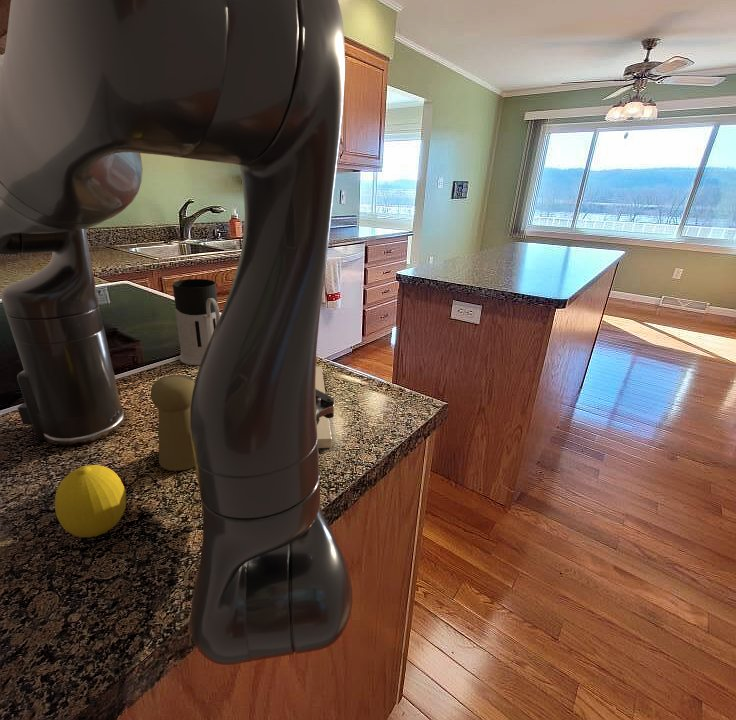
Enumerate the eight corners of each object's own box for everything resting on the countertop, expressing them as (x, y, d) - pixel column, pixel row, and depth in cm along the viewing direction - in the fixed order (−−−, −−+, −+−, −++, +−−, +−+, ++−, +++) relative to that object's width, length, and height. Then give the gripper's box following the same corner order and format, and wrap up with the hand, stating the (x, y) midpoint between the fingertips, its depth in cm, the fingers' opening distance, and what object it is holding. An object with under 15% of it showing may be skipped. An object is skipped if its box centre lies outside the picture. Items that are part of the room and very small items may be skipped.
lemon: (102, 561, 37) (82, 493, 33) (51, 549, 37) (28, 481, 34) (145, 517, 42) (131, 454, 38) (99, 507, 42) (82, 445, 39)
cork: (154, 473, 48) (138, 393, 43) (163, 444, 53) (150, 370, 49) (207, 467, 49) (197, 389, 45) (211, 439, 55) (202, 367, 50)
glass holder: (215, 345, 86) (207, 276, 80) (245, 367, 77) (240, 291, 71) (173, 354, 81) (161, 281, 75) (200, 379, 71) (190, 297, 65)
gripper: (345, 417, 42) (332, 354, 57) (213, 422, 39) (237, 355, 55) (343, 474, 45) (331, 399, 60) (220, 482, 42) (241, 402, 58)
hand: (286, 378), depth 58 cm, fingers closed
